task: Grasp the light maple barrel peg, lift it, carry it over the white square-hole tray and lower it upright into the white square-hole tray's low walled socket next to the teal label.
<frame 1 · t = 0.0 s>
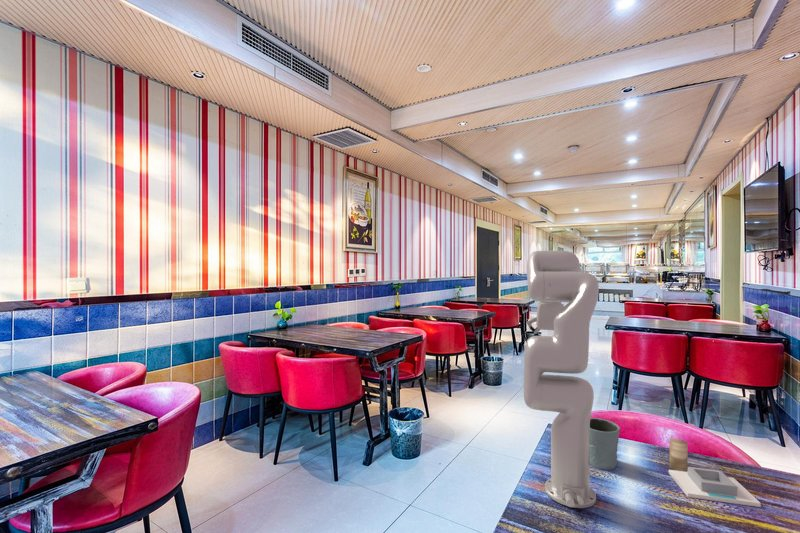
hand: (550, 344, 145), 31 cm above the table, tool pointing down, fingers open, 9 cm apart
grey cylindrical pot: (600, 463, 118), on the table
white square-hole tray: (711, 488, 104), on the table
barrel peg: (678, 467, 115), on the table
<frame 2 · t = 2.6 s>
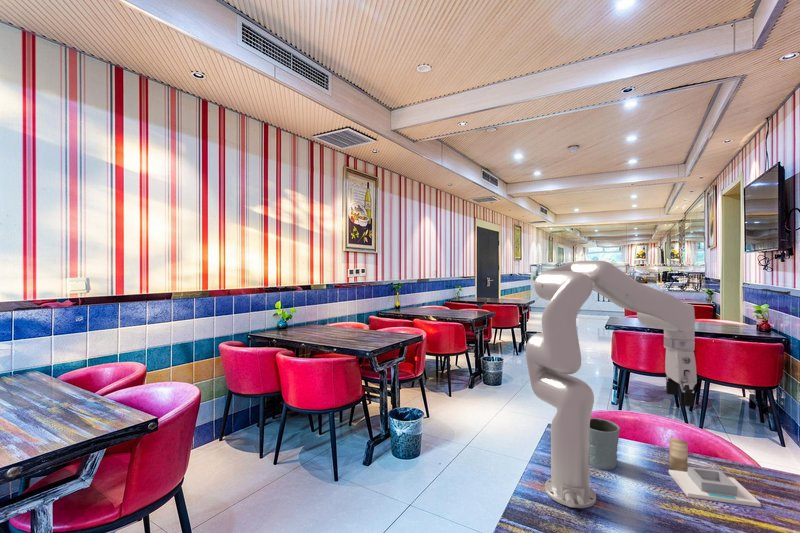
hand: (679, 399, 115), 21 cm above the table, tool pointing down, fingers open, 9 cm apart
nothing on the table moved.
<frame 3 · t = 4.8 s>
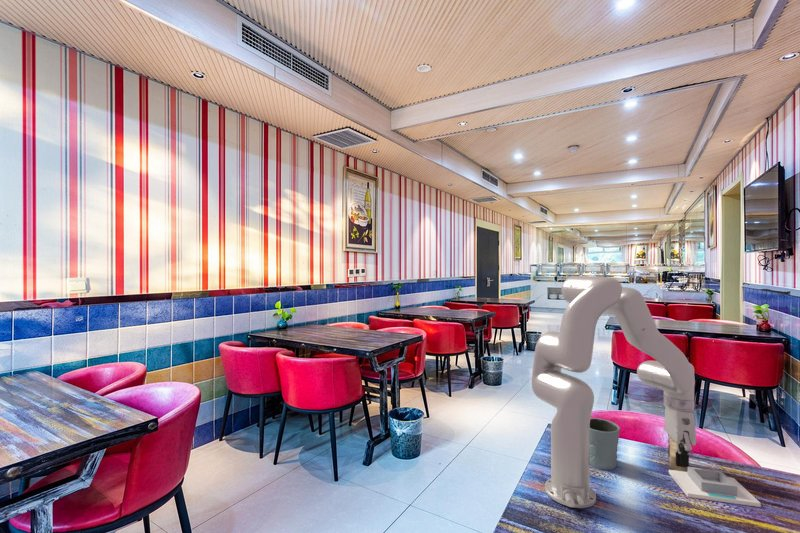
hand: (678, 461, 115), 2 cm above the table, tool pointing down, fingers closed on barrel peg, 4 cm apart
barrel peg: (678, 467, 115), on the table, touching gripper
everything else where it was.
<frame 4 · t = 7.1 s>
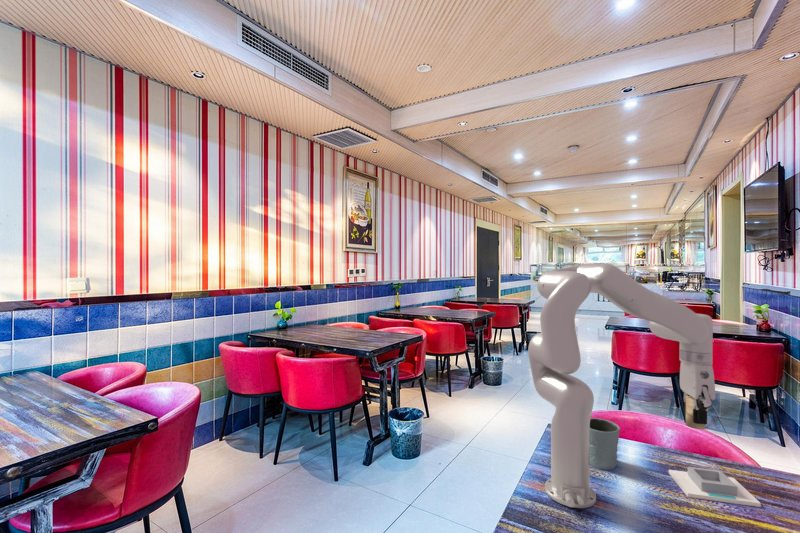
hand: (695, 419, 109), 17 cm above the table, tool pointing down, fingers closed on barrel peg, 4 cm apart
barrel peg: (695, 426, 109), point 15 cm above the table, touching gripper
everything else where it was.
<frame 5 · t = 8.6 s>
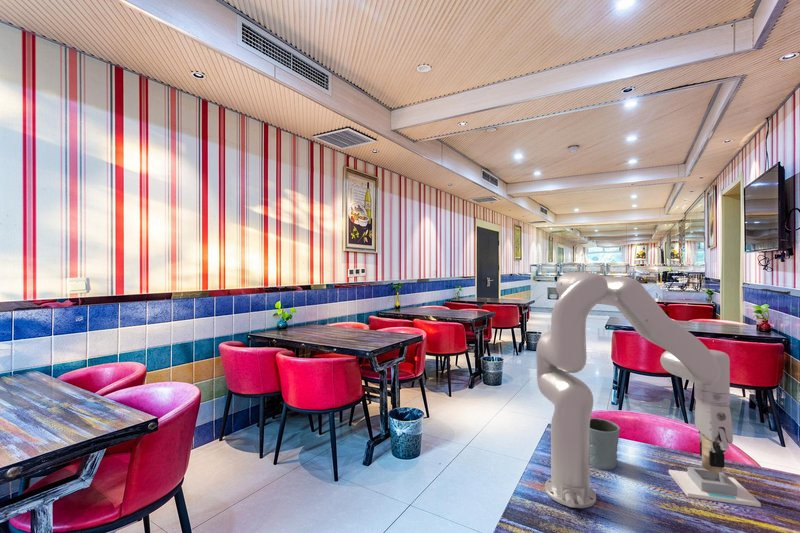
hand: (711, 461, 104), 8 cm above the table, tool pointing down, fingers closed on barrel peg, 4 cm apart
barrel peg: (712, 468, 104), point 6 cm above the table, touching gripper
everything else where it was.
when the fingers open (4 cm above the table, at t = 9.6 s): barrel peg drops 1 cm, resting on white square-hole tray.
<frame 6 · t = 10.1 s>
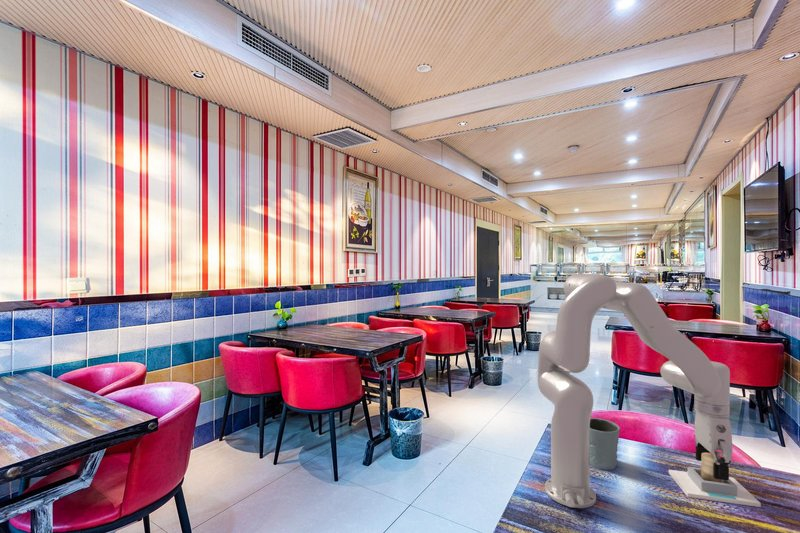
hand: (711, 469, 104), 5 cm above the table, tool pointing down, fingers open, 9 cm apart
barrel peg: (711, 485, 104), point 1 cm above the table, touching white square-hole tray
everything else where it was.
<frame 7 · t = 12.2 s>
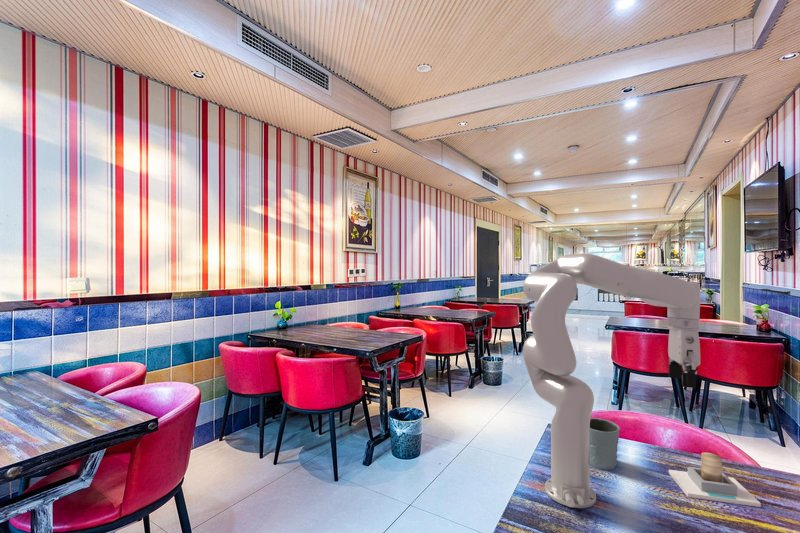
hand: (681, 382, 110), 28 cm above the table, tool pointing down, fingers open, 9 cm apart
nothing on the table moved.
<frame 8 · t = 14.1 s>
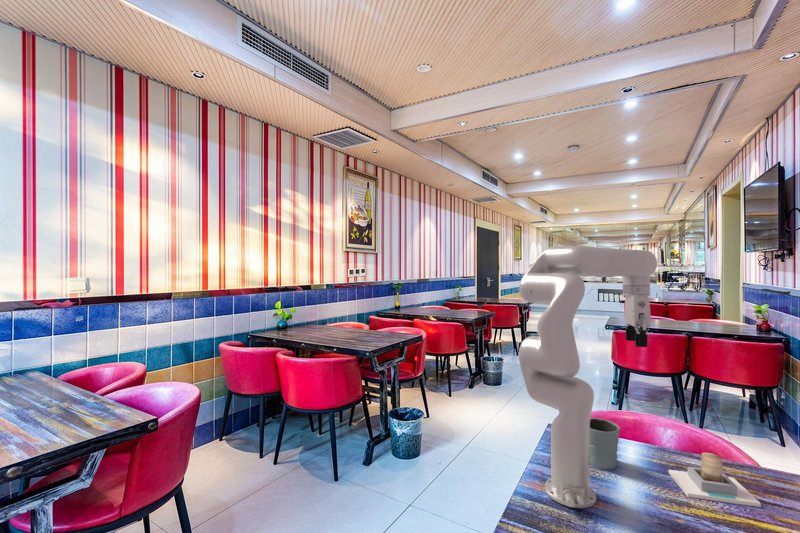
hand: (636, 343, 122), 36 cm above the table, tool pointing down, fingers open, 9 cm apart
nothing on the table moved.
at the end: barrel peg 0.2 cm off-centre on the white square-hole tray, point 1.0 cm above the white square-hole tray's base; barrel peg tilted 0°; the gripper is holding nothing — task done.
